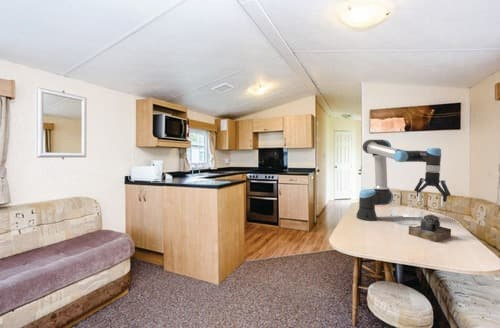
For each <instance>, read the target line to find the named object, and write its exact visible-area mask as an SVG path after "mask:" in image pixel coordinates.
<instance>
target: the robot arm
mask: <svg viewBox="0 0 500 328" xmlns="http://www.w3.org/2000/svg"><path fill="white" fill-rule="evenodd" d="M362 150H363V151H364V152H365V153H366V154H369V155H372V157H373V158H374V174H375V175H374V176H375V177H374V178H375V179H374V180H375V181H374V183H375V186H374V188H373V189H371V188H366V189H361V190H360V191H359V195H358V197H359V202H358V203H359V205H358V211H357V213H356V218H357V219H359V220H362V221H367V222H368V221H371V222H372V221H377V220H378V216H377V212H376V206H386V205H390V204H392V202H393V200H394V193H393V192H392V191H391V190H390V187H388V172H387V158H389V159H393V160H394V161H395V162H398V163H408V162H411V163H425V171H426V172H425V175H424V176H425V177H424V178H423V177H420V178H419V181H418V183H417V185H416V186H415V187H414V189H413V191H414V192H416V197H417V203H422V198H423V197H422V195H423V193H422V192H423V190H425V188H426V187H435V188H436V189H437V190H438V192H439V193H440V194H441V195H442V196H441V198H440V199H441V200H440V207H442V208H443V207H445V206H446V205H445V204H446V202H447V197H450V196H451V192H450V191H449V189H448V186H447V184H446V179H443V180H440V179H441V178H440V177H441V160H442V149H441V148H440V147H427V148H426V150H404V149H400V148H395V147H392V144H391V142H389V140H386V139H367V140H365V141H364V142H363V144H362ZM424 182H425V183H424ZM423 183H424V184H423Z"/></svg>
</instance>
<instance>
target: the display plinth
mask: <svg viewBox="0 0 500 328" xmlns="http://www.w3.org/2000/svg"><path fill="white" fill-rule="evenodd" d="M408 235H411V236H413V237H417V238H421V239H423V240H424V239H425V240H426V241H427V240H428V241H430V242H434V243H437V242H440V241H443V240H447V239H450V238H451V237H452V228H448V227H444V226H441V225H440V227H439V229H437V230H432V232H431V231H427V230H424V229H421V224H420V225H417V226H412V225H409V226H408Z"/></svg>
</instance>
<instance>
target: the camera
mask: <svg viewBox="0 0 500 328" xmlns="http://www.w3.org/2000/svg"><path fill="white" fill-rule="evenodd" d="M440 219H441V218H440V217H439V216H437V215H435V214H432V213H428V214H427V215H424V217H423V219H421V220H420V225H421V229H424V230H427V231H431V232H432V230H437V229H439V227H440V226H441V222H440V221H439V220H440Z"/></svg>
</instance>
